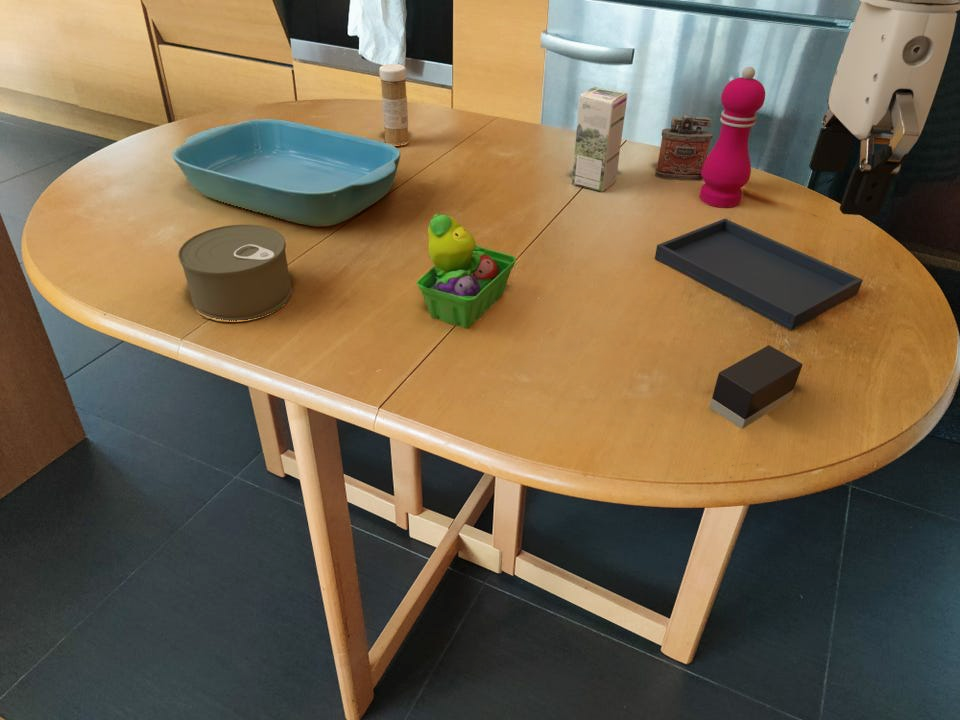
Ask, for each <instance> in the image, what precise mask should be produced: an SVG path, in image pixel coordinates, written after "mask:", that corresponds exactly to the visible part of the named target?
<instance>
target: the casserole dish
mask: <svg viewBox="0 0 960 720" xmlns="http://www.w3.org/2000/svg"><path fill="white" fill-rule="evenodd" d="M171 155H172V159H173V160H174V162H175V163H176V164H177V166H178V167H179V169H180V171H181V172H182V174H183V175H184V176H185V178H186V180H187V181H188V182H189V184H190V185H191V186H192V187H193V188H194V189H195V190H196V191H197V192H198V193H200V194H201V195H203V196H205V197H207V198H210V199H212V200H215V201H217V200H218V201H217V202H220V201H221V202H220V203H223V202H224V203H223V204H226V203H227V205H229V204H231V205H230V206H233V205H234V206H233V207H236V206H238V207H237V208H239V207H242V208H241V209H243V208H245V209H244V210H246V209H249V210H248V211H250V210H253V211H252V212H255V213H258V212H260V213H259V214H261V213H263V214H262V215H265V214H267V215H266V216H268V215H271V216H270V217H272V216H274V217H273V218H276V217H277V218H276V219H279V218H280V220H283V219H284V221H287V222H291V223H294V224H300V225H302V226H308V227H309V226H310V227H318V228H319V227H320V228H324V227H325V228H326V227H331V226H336V225H338V224H341V223H343V222H346V221H347V220H350V219H351V218H353V217H354V216H356V215H358V214H360V213H361V212H362V211H363V210H366V209H368V208H369V207H370V206H372V205H374V204H375V203H377V202H378V201H379V200H381V199H382V198H384V197H385V196H386V195H387V194H388V193H389V192H390V190H391V189H392V187H393V184H394V181H395V178H396V176H397V172H398V168H399V164H400V159H401V151H400V149H399V148H398V147H394V146H392V145H390V144H387V143H385V141H384V142H383V141H381V140H376V139H372V138H368V137H363V136H358V135H354V134H349V133H345V132H340V131H336V130H332V129H327V128H323V127H318V126H313V125H309V124H305V123H300V122H296V121H290V120H283V119H275V118H257V119H249V120H244V121H240V122H237V123H233V124H226V125H221V126H217V127H216V126H215V127H212V128H209V129H206V130H202V131H200V132H198V133H195V134H193V135H191V136H188V137H187V138H186V139H185V141H184V143H183V144H181V145H180V146H178V147H176V148H175V149H174V150H173V152H172V154H171Z"/></svg>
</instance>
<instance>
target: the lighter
mask: <svg viewBox="0 0 960 720" xmlns="http://www.w3.org/2000/svg"><path fill="white" fill-rule="evenodd" d="M711 123H712V119H711V118H710V117H706V116H705V117H704V116H696V117H692V116H691V115H690V114H684V115H683V116H671V121H670V127H669V128H663V129H662V130H661V141H660V148H659V154H658V160H657V165H656V168H655V172H654V176H655V177H656V178H659V179H665V180H672V181H673V180H674V181H688V182H689V181H691V182H692V181H695V182H696V181H698V182H699V181H704V180H703V178H702V175H701V171H702V168H703V164H704V162H705V160H706V158H707V157H708V155H709V150H710V145H711V141H712V139H713V136H714V133H713V132H712V131H710V130H705V129H702V128H710V127H711ZM694 127H696V128H694Z"/></svg>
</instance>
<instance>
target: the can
mask: <svg viewBox="0 0 960 720" xmlns="http://www.w3.org/2000/svg"><path fill="white" fill-rule="evenodd" d="M286 245H287V244H286V239H285V238H284V236H283V235H282V233H280V232H278V230H276V229H273V228H271V227H267V226H263V225H257V224H232V225H231V224H230V225H224V226H218V227H215V228H211V229H208V230H205V231H202V232H200V233H198V234H195V235H194V236H192V237H190V238H189V239H187V240H186V241H185V242H184V243H183V244H182V245H181V246H180V248H179V250H178V254H177V255H178V260H179V262H180V264H181V267H182V268H183V272H184V276H185V279H186V283H187V287H188V291H189V294H190V297H191V300H192V305H194V306H193V308H194V307H195V308H196V310H198V311H199V312H200V313H202V314H204V315H206V316H209V317H212V318H216V319H221V320H222V319H223V320H229V321H230V320H231V321H232V320H233V321H234V320H235V321H237V320H248V319H254V318H258V317H262V316H265V315H267V314H270V313H272V312H274V311H276V310H278V309H279V308H281V307H282V306H283V305H284V304H286V302H287V301H288V300H289V301H290V299H291V297H292V293H291V292H292V285H291V280H290V273H289V267H288V261H287V254H286ZM289 298H290V299H289ZM289 301H288V302H289ZM288 302H287V303H288ZM286 305H287V304H286ZM195 308H194V309H195ZM282 308H283V307H282ZM282 308H281V309H282ZM196 310H195V311H196ZM278 311H279V310H278Z"/></svg>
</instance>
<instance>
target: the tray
mask: <svg viewBox="0 0 960 720" xmlns="http://www.w3.org/2000/svg"><path fill="white" fill-rule="evenodd" d="M654 254H655V255H654V260H656V261H658V262H660V263H662V264H664V265H666V266H668V267H670V268H671V269H673V270H675V271H677V272H679V273H681V274H683V275H684V276H686V277H688V278H691V279H692V280H694V281H696V282H698V283H700V284H702V285H704V286H706V287H707V288H710V289H711V290H713V291H714V292H717V293H719V294H721V295H722V296H724V297H726V298H728V299H730V300H732V301H734V302H736V303H738V304H740V305H741V306H743V307H745V308H747V309H749V310H751V311H753V312H754V313H756V314H759V315H760V316H763V317H764V318H766V319H768V320H770V321H772V322H774V323H776V324H778V325H779V326H782V327H784V328H785V329H787V330H789V331H793V330H795V329H797V328H799V327H800V326H802V325H804V324H806V323H807V322H809V321H811V320H813V319H815V318H816V317H819V316H820V315H822V314H824V313H826V312H828V311H830V310H831V309H832V308H833V309H834V308H835V307H836V306H839V305H840V304H842V303H844V302H846V301H847V300H849V299H852V298H853V297H856V296H857V295H858V294H859V291H860V289H861V286H862V283H863V281H864V279H862V278H861V277H858V276H856V275H854V274H851V273H850V272H847V271H844V270H843V269H840V268H837V267H835V266H833V265H831V264H829V263H827V262H824V261H822V260H820V259H818V258H815V257H813V256H811V255H809V254H806V253H804V252H801V251H799V250H797V249H795V248H793V247H791V246H788V245H785V244H783V243H781V242H780V241H777V240H774V239H772V238H770V237H768V236H766V235H763V234H761V233H758V232H757V231H754V230H752V229H750V228H747V227H745V226H743V225H740V224H738V223H737V222H734V221H732V220H729V219H727V218H722V219H720V220H717V221H715V222H712V223H708V224H707V225H704V226H702V227H700V228H697V229H695V230H692V231H689V232H687V233H684V234H681V235H679V236H677V237H674V238H671V239H669V240H666V241H664V242H662V243H659V244H656V249H655V253H654Z"/></svg>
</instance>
